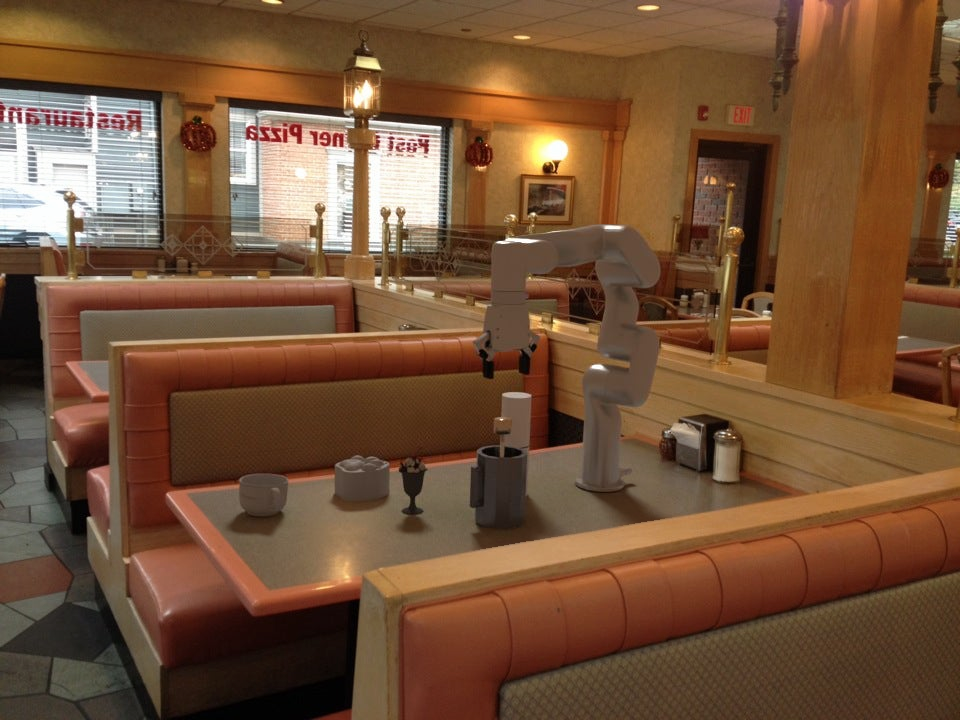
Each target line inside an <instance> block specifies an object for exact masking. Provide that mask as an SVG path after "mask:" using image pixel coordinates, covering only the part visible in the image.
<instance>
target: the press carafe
mask: <svg viewBox="0 0 960 720" xmlns="http://www.w3.org/2000/svg"><path fill="white" fill-rule="evenodd" d="M526 473H527V452H526V450H523V449H521V448H518V447H512V446H504V458H502V457H500V444H499V445H498V444H497V445H493V444H492V445H486V446H481V447H480V448H478V449H477V450H476V464H475V465H471V466H470V485H469V487H470V488H469V492H470V493H469V507H470V508H472V509H474V522H475V524H477V525H479V526H481V527H483V528H488V529H493V530H511V529H512V530H513V529H515V528H516V529H517V528H520V527H521V526H522V525H524V524H525V517H526V497H527V496H526Z"/></svg>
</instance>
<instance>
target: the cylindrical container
mask: <svg viewBox="0 0 960 720" xmlns="http://www.w3.org/2000/svg"><path fill="white" fill-rule="evenodd" d="M531 415H532V394H531V393H530V394H529V393H527V392H520V391H517V392H516V391H511V392H510V391H508V392H503V393H502V394H501V415H500V417H507V418H511V419H512V433H511V434H507V435H505V445H504V446H512V447H518V448H521V449H523V450H526V452H527V473H526V497H527V496H528V486H529V468H530V467H529V465H530V463H529V462H530V461H529V460H530V444H531V443H530V440H531V438H530V435H531V419H532V418H531Z"/></svg>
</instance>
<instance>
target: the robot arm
mask: <svg viewBox="0 0 960 720" xmlns="http://www.w3.org/2000/svg"><path fill="white" fill-rule="evenodd" d="M593 262H595V266H594V269H595V273H596V277H597V279H598V280H599V282H600V285H601V287H602V289H603V293H604V297H605V307H604V311H603V316H602V321H601V326H600V329H599V332H598V338H597V343H596V348H597V349H596V350H597V353H598V354H599V355H600V356H601V357H603V358H605V359H607V360H612V361H619V362H624V363H629V367H625V366H620V365H614V364H608V363H595V364H592V365H590V366H588V367H587V368H586V369H585V371H584V372H583V374H582V377H581V378H582V380H581V386H582V394H583V401H584V402H583V403H584V405H583V406H584V418H583V435H582V436H583V437H582V456H581V457H582V458H581V474H580V475H577V476H576V477H575V479H574V484H575V486H577V487H578V488H581V489H583V490H586V491H591V492H596V493H597V492H599V493H601V492H602V493H608V492H609V493H610V492H617V491H620V490H622V489H624V487H625V481H624V480H623V479H622V477H623V476H627V475H631V474H632V473H633V469H632V468H631V467H630V466H628V467H621V466H620V455H621V441H622V440H621V438H622V428H623V427H622V424H623V423H622V414H621V410H620V408H619V406H623V407H627V408H640V407H642V406H643V405H645V403H646V402H647V400H648V398H649V396H650V393H651V388H652V384H653V381H654V376H655V372H656V367H657V363H658V359H659V355H660V354H659V353H660V339H659V336H658V333H657V332H656V331H655V330H654V329H653V328H651V327H650V326H643V325H637V321H638V316H639V312H640V311H639V310H640V304H639V303H640V302H639V300H638V297H637V295H636V293H635V291H634V289H633V288H639V289H648V288H651V287H653V286H655V285H656V284H657V283H658V281H659V279H660V276H661V269H662V268H661V263H660V261H659V258H658V257H657V255H656V253H655V252H654V251H653V249H652V248H651V247H650V245H649V244H648V242H647V241H646V240H645V238H644V237H643V236H642V235H641V233H640V232H639V231H638V230H637V229H635V227H632V226H630V225H625V224H624V225H621V224H605V223H604V224H592V225H587V226H583V227H578V228H571V229H564V230H555V231H549V232H543V233H542V232H541V233H532V234H523V235H517V236H512V237H508V238H506V239H504V240H498V241H495V242H494V243H493V244H492V246H491V264H490V265H491V271H490V272H491V273H490V275H491V277H490V279H491V280H490V304H487V306H486V310H485V314H484V320H483V327H482V329H483V330H482V334H481V335H480V336H478V337H477V338H476V339H474V340H473V341H472V345H473V347H474V349H475V353H476V354H477V356H479V358H480V360H482V376H483V378H485V379H488V380H494V378H495V361H494V360H493V358H494V357H495V355H496V354H497V353H500V352H501V353H503V352H512V351H519V352H520V354H519V356H518V373H520V374H522V375H526V376H527V375H530V374H531V373H530V370H531V358H532V357H533V356H534V352H535V351H536V349H537V348H538V345H539V344H538V343H539V342H540V339H541V336H540V335H539V334H537V333H535V332H533V331H531V322H530V313H529V307H528V304H526V299H529V297H530V294H529V292H528V291H527V288H526V287H527V274H530V275H531V274H533V275H545V274H546V275H547V274H549V273H551V272H552V271H553V270H554V269H555V268H556V267H559V268H563V267H564V268H565V267H577V266H580V265H584V264H589V263H593ZM618 405H619V406H618Z"/></svg>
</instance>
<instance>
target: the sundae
mask: <svg viewBox="0 0 960 720" xmlns="http://www.w3.org/2000/svg"><path fill="white" fill-rule="evenodd" d="M422 449H423V447H422V446H421V447H419V448H418V450H417V451H416V453H413V454H411V455H410V456H409V457H407V458H406V460H405V461H404V463H403V462H402V461H400V462H399V463H400V466H399V467H398V473H400V474H401V476H402V477H401V478H402V486H403V492H404V493H405V494H406V495H407V496H408V497H409V506H406V507H403V508H402V509H401V512H402V513H403V514H405V515H409V514H416V515H420V514H422V513H423V512H424V509H422V508H421V507H417V504H416V498H417V497H418V495H420V494H421V493H422V489H423V485H424V479H425V473H426V472H427V471H428V468H427V467H426V464H425V462H424V461H422V460H423V457H422V456H421V450H422ZM417 454H418V455H419V456H417ZM419 513H420V514H419Z"/></svg>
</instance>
